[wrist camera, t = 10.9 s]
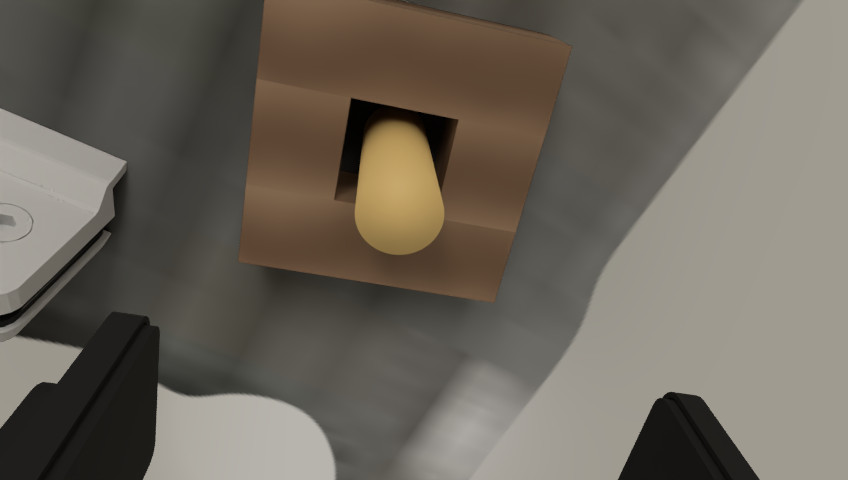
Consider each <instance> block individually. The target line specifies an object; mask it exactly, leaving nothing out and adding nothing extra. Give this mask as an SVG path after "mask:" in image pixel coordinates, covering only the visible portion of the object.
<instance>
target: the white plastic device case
mask: <svg viewBox="0 0 848 480" xmlns="http://www.w3.org/2000/svg"><path fill="white" fill-rule="evenodd" d="M126 169H127V162H126V161H124V160H122V159H119V158H117V157H115V156H112V155H110V154H107V153H105V152H103V151H100V150H98V149H96V148H93V147H91V146H88V145H86V144H84V143H81V142H79V141H77V140H74V139H72V138H70V137H67V136H65V135H62V134H60V133H58V132H55V131H53V130H51V129H48V128H46V127H43V126H41V125H39V124H36V123H34V122H32V121H29V120H27V119H24V118H22V117H20V116H17V115H15V114H13V113H10V112H8V111H6V110H3V109H1V108H0V342H3V341H6V340H8V339H11V338H12V337H14V336H15V335H17V334H18V333H19V332H20V331H21V330H22V329H23V328H24V327H25V326H26V325H27V323H28V322H29V321H30V320H31V319H32V318H33V317H34V316H35V315H36V314H37V313H38V312H39V311H40V310H41V309H42V308H43V307H44V306H45V305H46V304H47V303H48V302H49V301H50V300H51V299H52V298H53V297H54V296H55V295H56V294H57V293H58V292H59V291H60V290H61V289H62V288H63V287H64V286H65V285H66V284H67V283H68V282H69V281H70V280H71V279H72V278H73V277H74V276H75V275H76V274H77V273H78V272H79V271H80V270H81V269H82V267H83V266H84V265H85V264H86V263H87V262H88V261H89V260H90V259H91V258H92V257H93V256H94V255H95V254H96V253H97V252H98V251H99V250H100V249H101V248H102V247H103V246H104V244H105V243H106V241H107V240H108V238H109V237H110V235H111V233H110V232H107V231H105V230H104V229H103V227H104V226H105V225H106V224H107V223H108V222H109V221H110V220H111V219H112V218H113V217H114V216H115V212H114V200H113V187H114V186H115V185H116V184H117V182H118V181H119V180H120V178H121V177H122V176H123V175H124V173H125V172H126Z"/></svg>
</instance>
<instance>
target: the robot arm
mask: <svg viewBox="0 0 848 480" xmlns="http://www.w3.org/2000/svg"><path fill="white" fill-rule="evenodd" d="M159 338H160V330H159V327H158V326H151V325H150V321H149V318H148V317H147V316H140V315H134V314H127V313H120V312H112V313H111V314H110V315H109V316H108V317H107V319H106V320H105V321H104V322H103V324H102V325H101V326H100V328H99V329H98V330H97V332H96V333H95V334H94V336H93V337H92V338H91V340H90V341H89V342H88V344H87V345H86V346H85V348H84V349H83V350H82V352H81V353H80V354H79V356H78V357H77V358H76V360H75V361H74V362H73V363H72V365H71V366H70V368H69V369H68V370H67V372H66V373H65V374H64V376H63V377H62V378H61V380H60V381H59V382H58V383H57V384H55V383H46V382H42V383H40V384H38V385H36V386H35V387H34V388H33V389H32V390H31V391H30V393H29V394H28V395H27V396H26V397H25V399H24V400H23V401H22V403H21V404H20V405H19V406H18V407H17V409H16V410H15V411H14V413H13V414H12V415H11V416H10V418H9V419H8V420H7V421H6V422H5V424H4V425H3V426H2V427H1V429H0V480H143V478H144V476H145V473H146V471H147V469H148V467H149V465H150V462H151V459H152V456H153V452H154V446H155V435H156V411H157V386H158V362H159ZM618 480H759V478H758V477H757V475H756V474H755V473H754V471H753V470H752V469H751V467H750V465H749V464H748V463H747V461H746V460H745V458H744V457H743V456H742V454H741V453H740V451H739V450H738V448H737V447H736V446H735V444H734V443H733V441H732V440H731V438H730V437H729V436H728V434H727V433H726V431H725V430H724V429H723V427H722V426H721V424H720V423H719V421H718V420H717V419H716V417H715V416H714V414H713V413H712V412H711V411H710V409H709V407H708V406H707V404H706V403H705V402H704V400H703V399H702V398H701V397H699V396H696V395H689V394H682V393H675V392H669V393H667V394H665V395H664V396H663V398H659V399H657V400H656V401H655V403H654V404H653V406H652V409H651V411H650V413H649V415H648V417H647V419H646V422H645V423H644V426H643V428H642V430H641V432H640V434H639V436H638V438H637V440H636V442H635V445H634V447H633V449H632V451H631V453H630V456H629V457H628V460H627V462H626V464H625V466H624V468H623V470H622V472H621V474H620V477H619V479H618Z"/></svg>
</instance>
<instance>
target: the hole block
mask: <svg viewBox="0 0 848 480" xmlns="http://www.w3.org/2000/svg"><path fill="white" fill-rule="evenodd" d="M571 49H572V46H570V45H568V44H566V43H564V42H562V41H560V40H558V39H556V38H554V37H552V36H550V35H547V34H543V33H539V32H534V31H530V30H525V29H521V28H517V27H512V26H508V25H503V24H499V23H495V22H490V21H486V20H481V19H477V18H473V17H468V16H464V15H459V14H455V13H451V12H446V11H442V10H437V9H433V8H429V7H424V6H420V5H415V4H411V3H407V2H402V1H398V0H264V9H263V19H262V29H261V39H260V49H259V59H258V69H257V79H256V89H255V99H254V109H253V119H252V129H251V139H250V148H249V158H248V168H247V178H246V188H245V198H244V208H243V218H242V228H241V238H240V248H239V258H238V262H242V263H248V264H255V265H261V266H267V267H273V268H280V269H286V270H292V271H298V272H305V273H311V274H317V275H324V276H330V277H336V278H342V279H349V280H355V281H361V282H367V283H374V284H380V285H386V286H392V287H399V288H405V289H411V290H417V291H424V292H430V293H436V294H442V295H449V296H455V297H461V298H467V299H474V300H480V301H486V302H492V303H494V302H495V299H496V296H497V292H498V289H499V286H500V283H501V279H502V276H503V273H504V269H505V266H506V263H507V260H508V256H509V253H510V250H511V246H512V243H513V240H514V237H515V233H516V230H517V227H518V224H519V220H520V217H521V214H522V210H523V207H524V204H525V201H526V197H527V194H528V191H529V187H530V184H531V181H532V178H533V174H534V171H535V168H536V164H537V161H538V158H539V155H540V151H541V148H542V145H543V141H544V138H545V135H546V132H547V128H548V125H549V122H550V118H551V115H552V112H553V109H554V105H555V102H556V99H557V95H558V92H559V89H560V86H561V82H562V79H563V76H564V72H565V69H566V66H567V63H568V59H569V56H570V53H571ZM352 98H354V99H359V100H364V101H369V102H374V103H379V104H384V105H389V106H394V107H398V108H403V109H408V110H413V111H418V112H423V113H428V114H433V115H438V116H443V117H445V121H444V125H443V130H442V134H441V138H440V143H439V147H438V151H437V155H436V160H435V164H434V168H435V172H436V176H437V180H438V184H439V188H440V192H441V197H442V201H443V205H444V221H443V225H442V228H441V230H440V232H439V234H438V235H437V237H436V238H435V239H434V240H433V241H432V242H431V243H430V244H429V245H428V246H426V247H425V248H423V249H421V250H419V251H417V252H414V253H411V254H405V255H393V254H388V253H384V252H381V251H379V250H377V249H375V248H374V247H372V246H371V245H370V244H368V243H367V242H366V241H365V240H364V238H363V237H362V236H361V234H360V232H359V230H358V228H357V225H356V222H355V205H356V196H357V187H358V178H359V174H356V173H351V172H346V171H340V168H341V162H342V156H343V150H344V144H345V138H346V132H347V126H348V120H349V114H350V108H351V102H352Z"/></svg>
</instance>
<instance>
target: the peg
mask: <svg viewBox="0 0 848 480" xmlns="http://www.w3.org/2000/svg"><path fill="white" fill-rule="evenodd" d="M443 221H444V205H443V201H442V197H441V192H440V188H439V184H438V180H437V176H436V172H435V168H434V164H433V160H432V156H431V151H430V147H429V143H428V139H427V135H426V131H425V127H424V124H423V122H422V120H421V118H420V117H419V115H418V114H417V113H416V112H414V111H413V110H408V109H403V108H398V107H394V106H389V105H386V106H383V107H381V108H379V109H377V110H376V111H374V112H373V113H372V114H371V115H370V117H369V118H368V120H367V122H366V124H365V127H364V133H363V142H362V151H361V160H360V169H359V178H358V187H357V196H356V205H355V222H356V225H357V228H358V230H359V232H360V234H361V236H362V237H363V238H364V240H365V241H366V242H367V243H368V244H370V245H371V246H372V247H374V248H375V249H377V250H379V251H381V252H384V253H388V254H393V255H405V254H411V253H414V252H417V251H419V250H421V249H423V248H425V247H426V246H428V245H429V244H430V243H431V242H432V241H433V240H434V239H435V238H436V237H437V235H438V234H439V232H440V230H441V228H442V225H443Z"/></svg>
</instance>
